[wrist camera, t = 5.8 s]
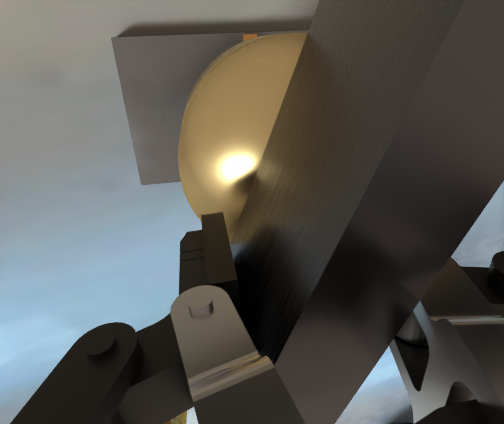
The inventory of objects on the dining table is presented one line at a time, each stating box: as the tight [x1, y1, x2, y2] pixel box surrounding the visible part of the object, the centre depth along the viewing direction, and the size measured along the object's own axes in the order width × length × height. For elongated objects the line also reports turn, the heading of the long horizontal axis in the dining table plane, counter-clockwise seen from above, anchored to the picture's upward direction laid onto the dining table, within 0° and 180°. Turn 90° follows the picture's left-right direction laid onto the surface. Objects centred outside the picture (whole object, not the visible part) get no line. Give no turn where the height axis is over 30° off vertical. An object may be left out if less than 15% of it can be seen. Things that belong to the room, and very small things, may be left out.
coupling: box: [178, 0, 504, 424], centre depth 10 cm, size 10×8×9 cm
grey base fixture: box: [111, 30, 309, 185], centre depth 17 cm, size 14×8×7 cm, turn 92°
